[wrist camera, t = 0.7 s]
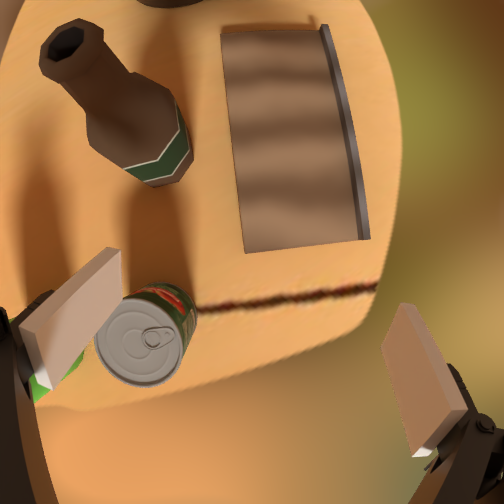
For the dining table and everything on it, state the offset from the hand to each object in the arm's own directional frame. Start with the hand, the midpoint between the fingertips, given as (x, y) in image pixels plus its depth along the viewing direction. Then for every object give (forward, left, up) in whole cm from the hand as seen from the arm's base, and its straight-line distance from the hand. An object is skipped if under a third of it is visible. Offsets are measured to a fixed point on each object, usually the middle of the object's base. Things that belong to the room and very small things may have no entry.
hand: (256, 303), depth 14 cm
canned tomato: (+5, -10, -22) cm, 24 cm away
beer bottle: (-13, -8, -22) cm, 27 cm away
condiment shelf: (-14, +6, -21) cm, 27 cm away
